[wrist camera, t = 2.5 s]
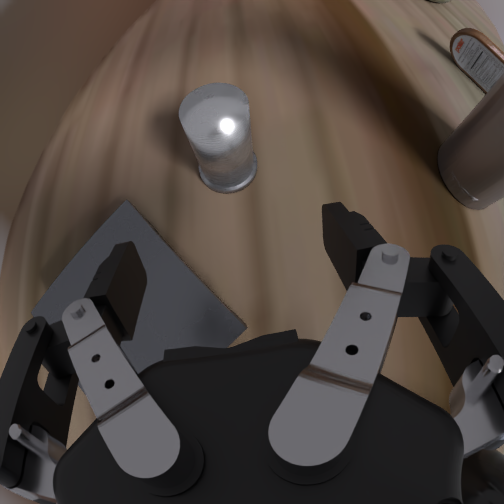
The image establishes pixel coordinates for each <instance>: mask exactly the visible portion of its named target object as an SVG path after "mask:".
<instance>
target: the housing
mask: <svg viewBox="0 0 504 504" xmlns="http://www.w3.org/2000/svg"><path fill="white" fill-rule="evenodd" d="M179 119H180V121H181V124H182V126H183V128H184V131H185V133H186V135H187V138H188V140H189V142H190V145H191V147H192V149H193V152H194V154H195V156H196V159H197V161H198V163H199V173H200V176H201V178H202V180H203V182H204V183H205V185H206V186H207V187H209V188H210V189H211V190H213V191H216V192H219V193H225V194H229V193H235V192H238V191H240V190H243V189H244V188H246V187H247V186H248V185H249V184H250V183H251V182H252V181H253V179H254V178H255V175H256V172H257V159H256V156H255V153H254V152H253V147H252V135H251V124H250V112H249V102H248V98H247V96H246V95H245V93H244V92H243V91H242V90H241V89H239V88H238V87H236V86H234V85H231V84H227V83H211V84H207V85H204V86H201V87H199V88H197V89H195V90H193V91H192V92H191V93H189V94H188V95H187V96H186V97H185V98H184V100H183V101H182V103H181V105H180V108H179Z"/></svg>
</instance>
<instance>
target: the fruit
mask: <svg viewBox="0 0 504 504" xmlns="http://www.w3.org/2000/svg"><path fill="white" fill-rule="evenodd" d="M430 1H432V2H437V3H447V2H449V1H451V0H430Z"/></svg>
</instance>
